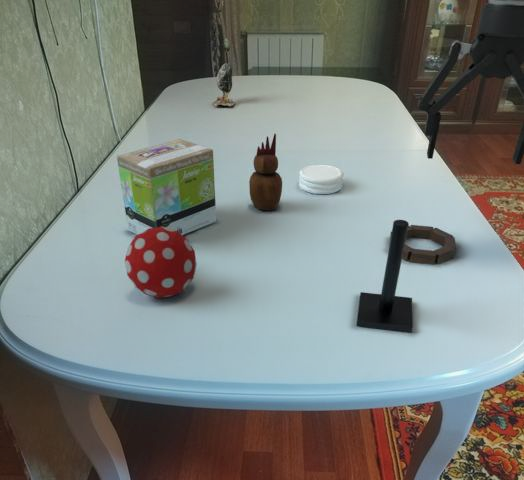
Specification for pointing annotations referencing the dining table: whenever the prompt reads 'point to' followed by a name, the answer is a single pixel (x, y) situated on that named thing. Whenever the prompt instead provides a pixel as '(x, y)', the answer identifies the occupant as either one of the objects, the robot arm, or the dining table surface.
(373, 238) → the dining table surface
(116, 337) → the dining table surface
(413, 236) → the ring
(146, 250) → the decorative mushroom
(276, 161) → the wooden figurine
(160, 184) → the tea box
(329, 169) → the coaster
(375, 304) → the stand
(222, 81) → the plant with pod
